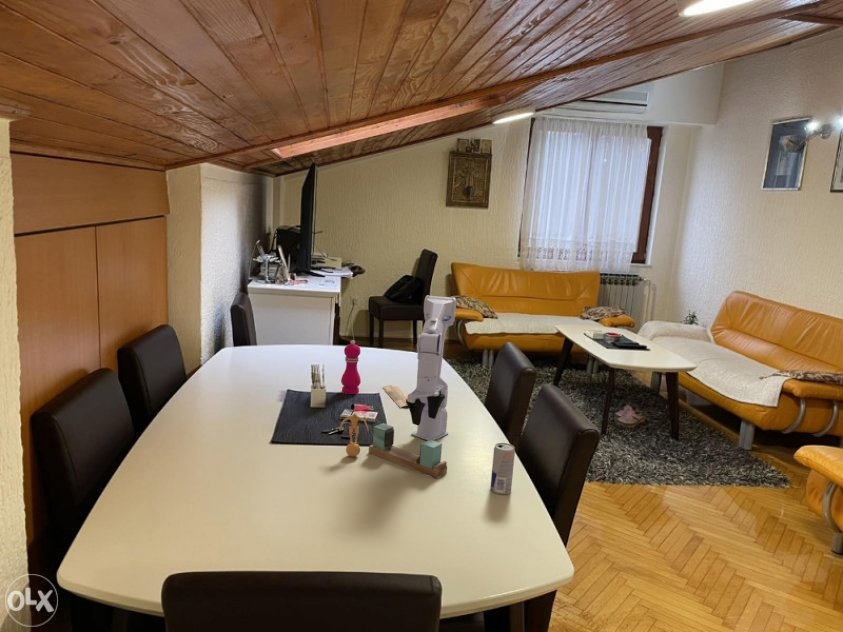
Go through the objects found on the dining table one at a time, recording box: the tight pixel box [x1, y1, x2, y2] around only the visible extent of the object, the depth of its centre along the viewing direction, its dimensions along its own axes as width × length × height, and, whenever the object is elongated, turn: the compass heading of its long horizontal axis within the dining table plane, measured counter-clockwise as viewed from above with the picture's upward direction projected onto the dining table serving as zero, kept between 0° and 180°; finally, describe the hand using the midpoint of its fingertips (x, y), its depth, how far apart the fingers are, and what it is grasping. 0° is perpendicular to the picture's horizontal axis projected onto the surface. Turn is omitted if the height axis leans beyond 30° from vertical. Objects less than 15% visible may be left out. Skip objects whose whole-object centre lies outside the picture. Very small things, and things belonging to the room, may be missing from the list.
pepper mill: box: [340, 339, 362, 395], centre depth 233 cm, size 7×7×20 cm
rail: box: [368, 423, 448, 479], centre depth 176 cm, size 5×24×8 cm, turn 53°
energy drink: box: [490, 442, 516, 496], centre depth 162 cm, size 5×5×12 cm
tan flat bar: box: [382, 384, 408, 409], centre depth 233 cm, size 24×7×2 cm, turn 19°
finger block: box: [419, 440, 443, 469], centre depth 171 cm, size 4×5×6 cm
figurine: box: [338, 413, 369, 458], centre depth 178 cm, size 8×6×12 cm
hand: (424, 421), depth 180 cm, fingers open, 7 cm apart
